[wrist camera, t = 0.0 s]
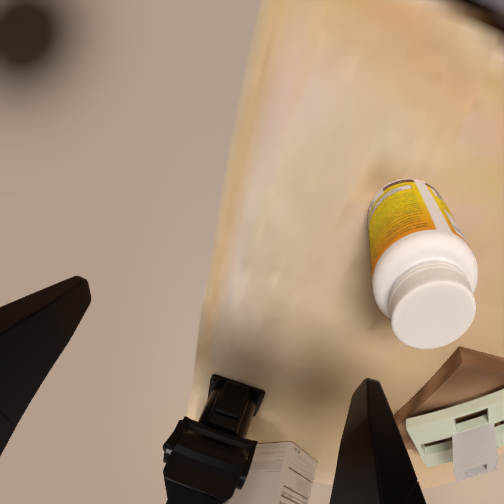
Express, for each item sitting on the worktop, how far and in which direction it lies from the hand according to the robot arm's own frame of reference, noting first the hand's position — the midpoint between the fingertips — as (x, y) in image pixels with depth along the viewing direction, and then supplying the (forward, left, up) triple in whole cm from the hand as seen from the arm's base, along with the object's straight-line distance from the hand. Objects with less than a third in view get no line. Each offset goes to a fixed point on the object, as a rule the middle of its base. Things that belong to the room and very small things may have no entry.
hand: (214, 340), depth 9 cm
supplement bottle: (0, -8, -15) cm, 17 cm away
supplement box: (-43, -10, -15) cm, 47 cm away
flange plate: (-19, -28, -12) cm, 36 cm away
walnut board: (-19, -28, -15) cm, 37 cm away
